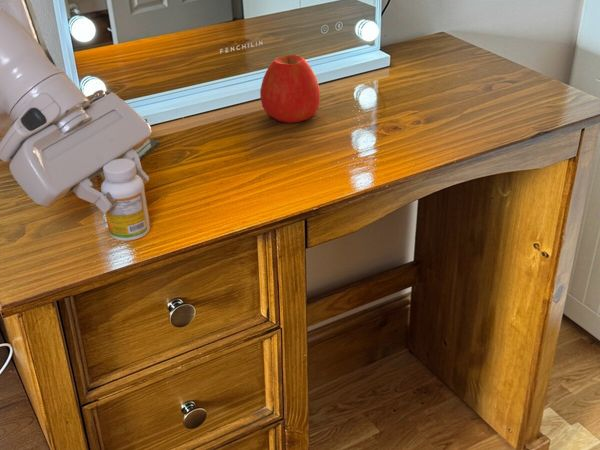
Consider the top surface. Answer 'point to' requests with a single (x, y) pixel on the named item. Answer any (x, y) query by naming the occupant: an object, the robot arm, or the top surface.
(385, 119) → the top surface
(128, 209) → the supplement bottle
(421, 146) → the top surface
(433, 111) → the top surface
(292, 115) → the apple
